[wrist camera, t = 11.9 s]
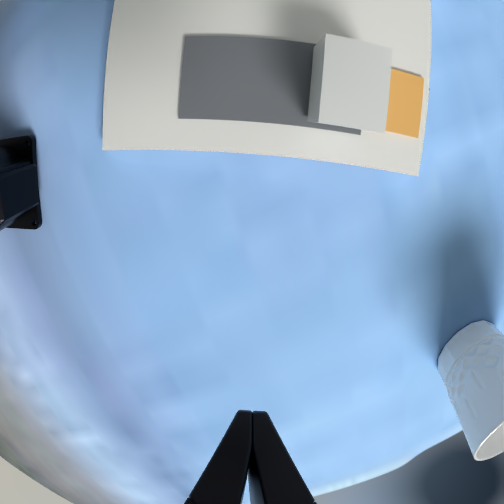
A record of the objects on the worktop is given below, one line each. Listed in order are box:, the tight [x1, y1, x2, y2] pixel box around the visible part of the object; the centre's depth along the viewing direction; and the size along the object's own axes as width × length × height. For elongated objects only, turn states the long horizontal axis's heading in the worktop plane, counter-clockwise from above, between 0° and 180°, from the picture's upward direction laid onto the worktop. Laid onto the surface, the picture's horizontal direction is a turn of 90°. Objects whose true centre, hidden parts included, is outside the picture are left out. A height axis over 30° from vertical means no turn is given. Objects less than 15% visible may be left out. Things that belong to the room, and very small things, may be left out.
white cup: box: [437, 320, 504, 461], centre depth 19 cm, size 8×8×10 cm
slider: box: [307, 34, 392, 134], centre depth 13 cm, size 3×4×3 cm
